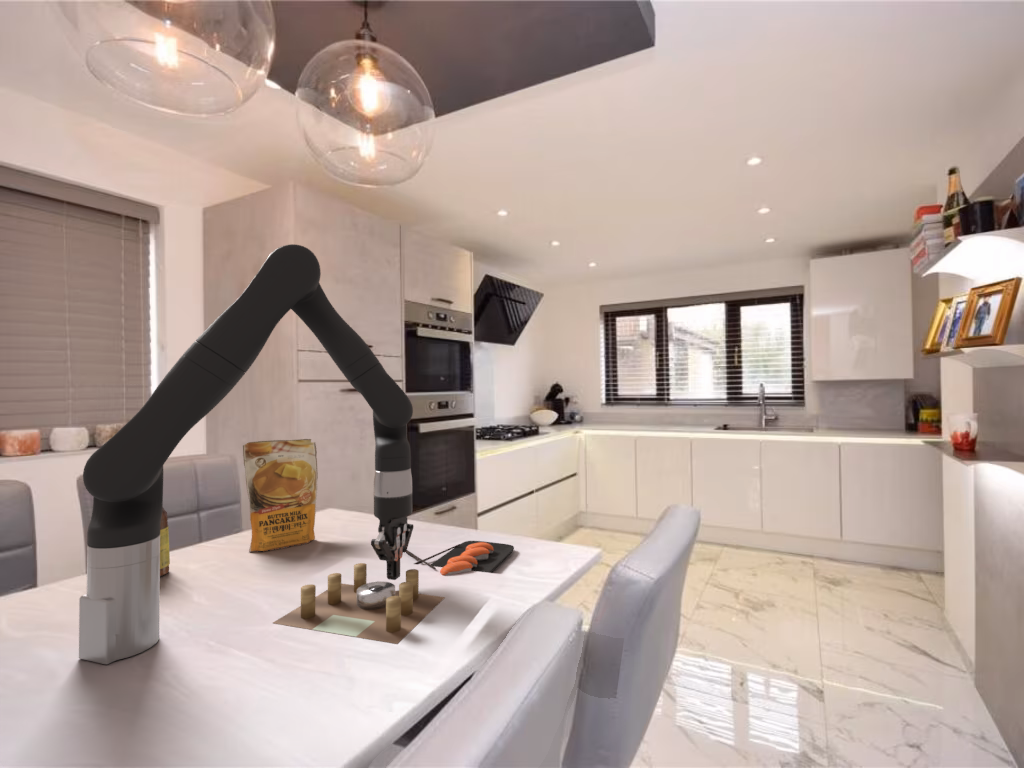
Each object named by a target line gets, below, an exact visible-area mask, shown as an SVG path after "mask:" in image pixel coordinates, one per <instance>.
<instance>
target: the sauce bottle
mask: <svg viewBox="0 0 1024 768" xmlns="http://www.w3.org/2000/svg"><path fill="white" fill-rule="evenodd" d="M168 518H169V517H168V511H166V510H165V508H164V507H163V509H162V517H161V525H160V577H162V576H165V575H167V574H168V573H169V572H170V564H171V558H170V533H169V528H170V527H169V525H168V524H169V522H168V520H169V519H168Z"/></svg>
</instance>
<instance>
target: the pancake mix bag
mask: <svg viewBox="0 0 1024 768" xmlns="http://www.w3.org/2000/svg"><path fill="white" fill-rule="evenodd" d="M242 456H243V466H244V471H245V484H246V492H247V496H248V503H249V520H250V525H251V539H250V545H249V550H248V552H258V551H263V552H268V550H270V551H274V549H275V550H280V549H279V548H281V549H285V548H284V547H286V548H290V547H289V546H291V547H295V546H294V545H297V546H301V544H302V545H306V544H309V543H310V542H312V541H315V540H316V534H315V524H316V523H315V522H316V514H317V512H316V511H317V510H316V508H317V507H316V506H317V505H316V504H317V496H318V495H317V493H318V492H317V491H318V458H317V445H316V442H315V441H312V439H311V438H304V439H303V438H300V439H290V440H289V439H274V440H260V441H250V442H247V443H245V444H243V445H242ZM305 543H306V544H305Z"/></svg>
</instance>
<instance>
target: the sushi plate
mask: <svg viewBox="0 0 1024 768" xmlns="http://www.w3.org/2000/svg"><path fill="white" fill-rule="evenodd" d="M514 550H515V546H514V545H511V544H507V543H501V542H500V543H499V542H490V541H480V540H466V541H463V542H462V543H458V544H456V545H454V546H452V547H451V546H450V547H449V548H447V549H445V550H441V552H438V553H436V554H434V555H433V554H432V555H431V556H429V557H426V558H424V559H422V558H420V557H419V556H417V555H416V554H414V553H413V552H411V551H410V550H408V549H407V551H406V553H405V554H407V555H409V556H411V557H413V558H414V559H416V560H419V561H417V562H414V563H413V565H420V564H422V563H424V564H425V565H427V566H428V567H431V568H432V569H433V570H436V569H437V568H441V569H439V570H440V571H439V572H440V574H441V575H442V576H450V575H455V574H460V573H468V572H481V573H489V574H491V573H492V572H493V571H494V570H495V569H496V568H497V567H498V566H499V565H500V564H501V563H502V562H503V561H504V560H506V558H508V557H509V556H510V555H511V554H512V553H513V551H514ZM444 553H445V554H444ZM441 554H444V555H441ZM439 555H441V557H439V558H438V559H436V560H435V561H433V562H432V563H429V562H427V561H428V560H431V559H432V558H435V557H438V556H439ZM436 567H437V568H436Z"/></svg>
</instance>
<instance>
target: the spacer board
mask: <svg viewBox="0 0 1024 768" xmlns="http://www.w3.org/2000/svg"><path fill="white" fill-rule="evenodd" d="M367 570H368V569H367V564H366V563H365V562H360V563H356V564H353V584H349V583H348V584H347V583H342V573H339V572H334V573H329V574H328V575H327V589H326V590H324V591H323V592H320V594H318V595H316V587H317V585H315V584H310V583H309V584H305V585H302V586H301V587H300V606H298V607H296V608H294V609H293V610H292V611H289V612H288V613H287V614H285V615H283V616H281V617H280V618H278V619H277V620H275V621H273V622H272V624H275V625H281V626H288V627H294V628H299V629H304V630H311V631H316V632H322V633H329V634H335V635H340V636H346V637H352V638H358V639H363V640H364V639H365V640H371V641H376V642H381V643H388V644H394V645H398V644H399V643H401V641H402V640H403V639H404V638H405V637H406V636H408V634H410V632H412V630H413V629H414V628H416V627H417V626H418V625H419V623H421V622H422V621H423V620H424V619H425V618H426V617H427V616H428V615H429V614H430V613H431V612H432V611H434V609H435V608H436V607H437V606H438V605H440V604H441V602H442V601H443V600H444V599H445V598H446V597H445V596H441V595H440V596H438V595H432V594H425V593H419V584H420V583H419V582H420V581H419V578H420V577H419V571H420V570H419V569H415V568H413V569H412V568H411V569H407V570H406V571H405V581H403V582H401V583H399V586H398V590H395V596H391V597H388V598H387V599H386V607H385V608H382V609H376V610H365V609H361V608H359V607H358V606H357V589H358V588H359V587H360V586H362V585H364V584H367Z"/></svg>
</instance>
